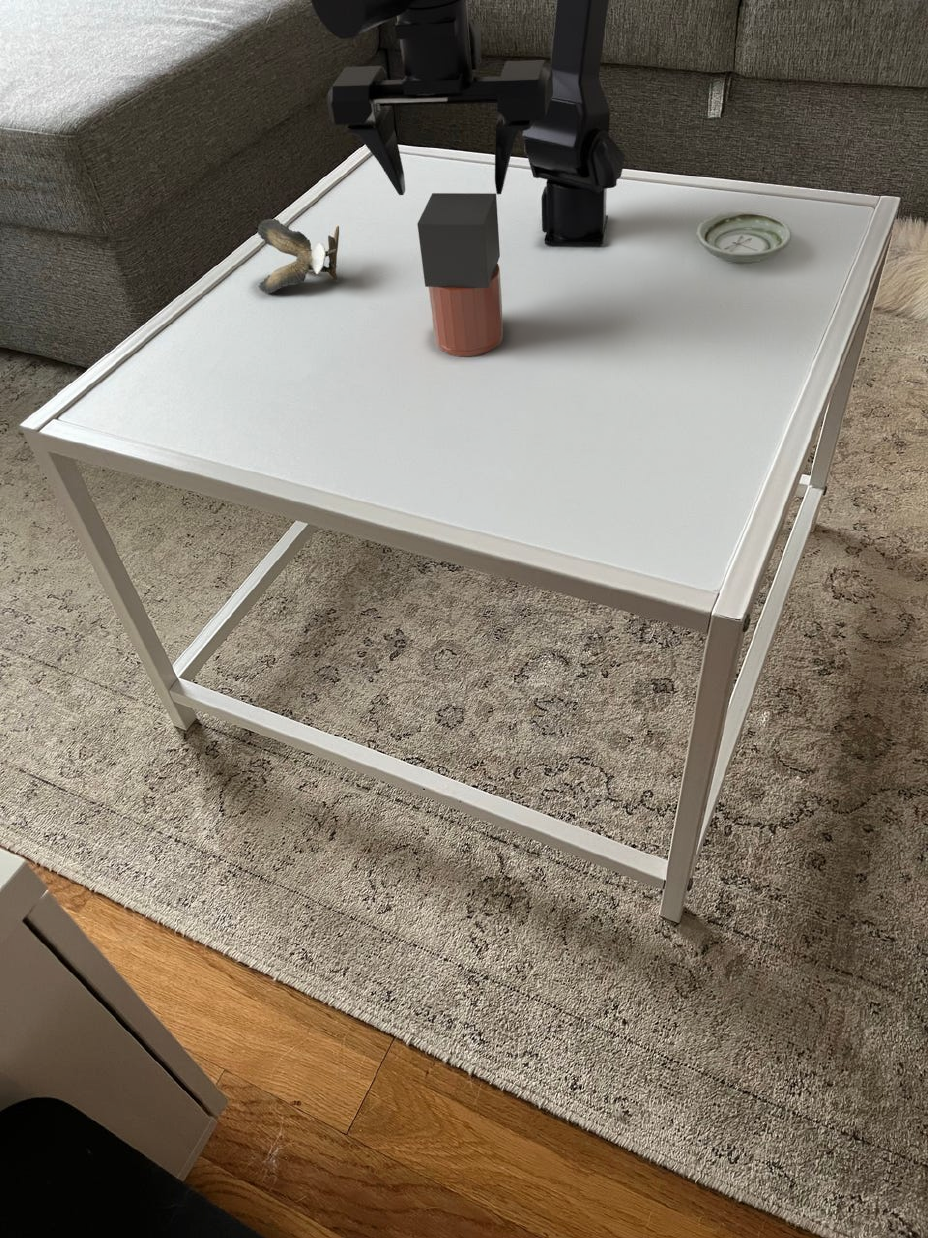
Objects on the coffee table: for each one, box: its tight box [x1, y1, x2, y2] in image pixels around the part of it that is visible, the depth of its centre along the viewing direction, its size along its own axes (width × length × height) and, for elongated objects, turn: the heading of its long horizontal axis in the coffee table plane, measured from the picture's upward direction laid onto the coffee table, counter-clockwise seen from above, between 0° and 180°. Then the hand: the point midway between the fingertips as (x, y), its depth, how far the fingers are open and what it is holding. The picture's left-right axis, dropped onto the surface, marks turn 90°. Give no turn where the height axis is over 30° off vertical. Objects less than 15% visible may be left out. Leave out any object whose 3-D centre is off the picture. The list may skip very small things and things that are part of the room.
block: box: [416, 192, 501, 288], centre depth 85 cm, size 6×6×6 cm
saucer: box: [695, 210, 793, 265], centre depth 98 cm, size 10×10×2 cm
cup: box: [428, 263, 504, 357], centre depth 90 cm, size 7×7×7 cm
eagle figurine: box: [257, 218, 340, 294], centre depth 101 cm, size 8×7×9 cm
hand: (450, 192), depth 86 cm, fingers open, 9 cm apart
